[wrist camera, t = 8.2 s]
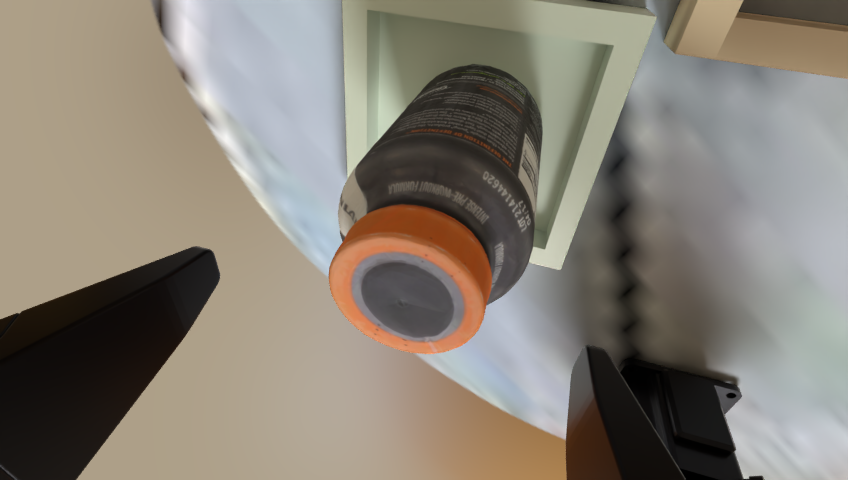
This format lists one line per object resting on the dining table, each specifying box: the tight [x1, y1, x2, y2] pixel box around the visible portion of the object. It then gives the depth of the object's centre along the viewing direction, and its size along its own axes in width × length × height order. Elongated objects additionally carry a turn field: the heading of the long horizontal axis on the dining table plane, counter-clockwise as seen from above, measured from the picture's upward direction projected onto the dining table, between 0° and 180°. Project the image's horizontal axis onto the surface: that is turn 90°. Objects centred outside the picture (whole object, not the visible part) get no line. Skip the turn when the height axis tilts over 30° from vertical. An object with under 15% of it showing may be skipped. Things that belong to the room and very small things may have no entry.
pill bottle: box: [329, 64, 543, 354], centre depth 14 cm, size 6×6×11 cm
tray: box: [342, 0, 657, 270], centre depth 18 cm, size 11×11×2 cm
